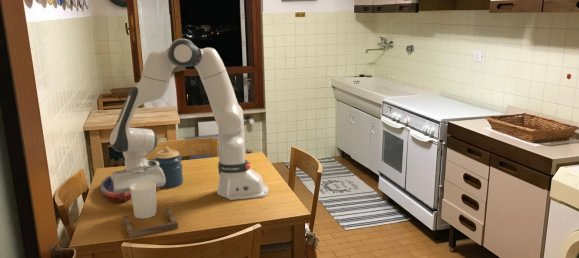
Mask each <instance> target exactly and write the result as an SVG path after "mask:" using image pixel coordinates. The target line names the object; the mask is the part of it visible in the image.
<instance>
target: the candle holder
mask: <svg viewBox="0 0 579 258" xmlns="http://www.w3.org/2000/svg"><path fill="white" fill-rule="evenodd" d="M130 192H131V198H130V199H131V204H132V209H133V216H134V218H136V219H139V220H140V219H141V220H144V219H149V218H153V217H155V216H156V215H157V187H156V183H154V182H150V181H143V182H137V183H134V184H132V185H131V186H130Z"/></svg>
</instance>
